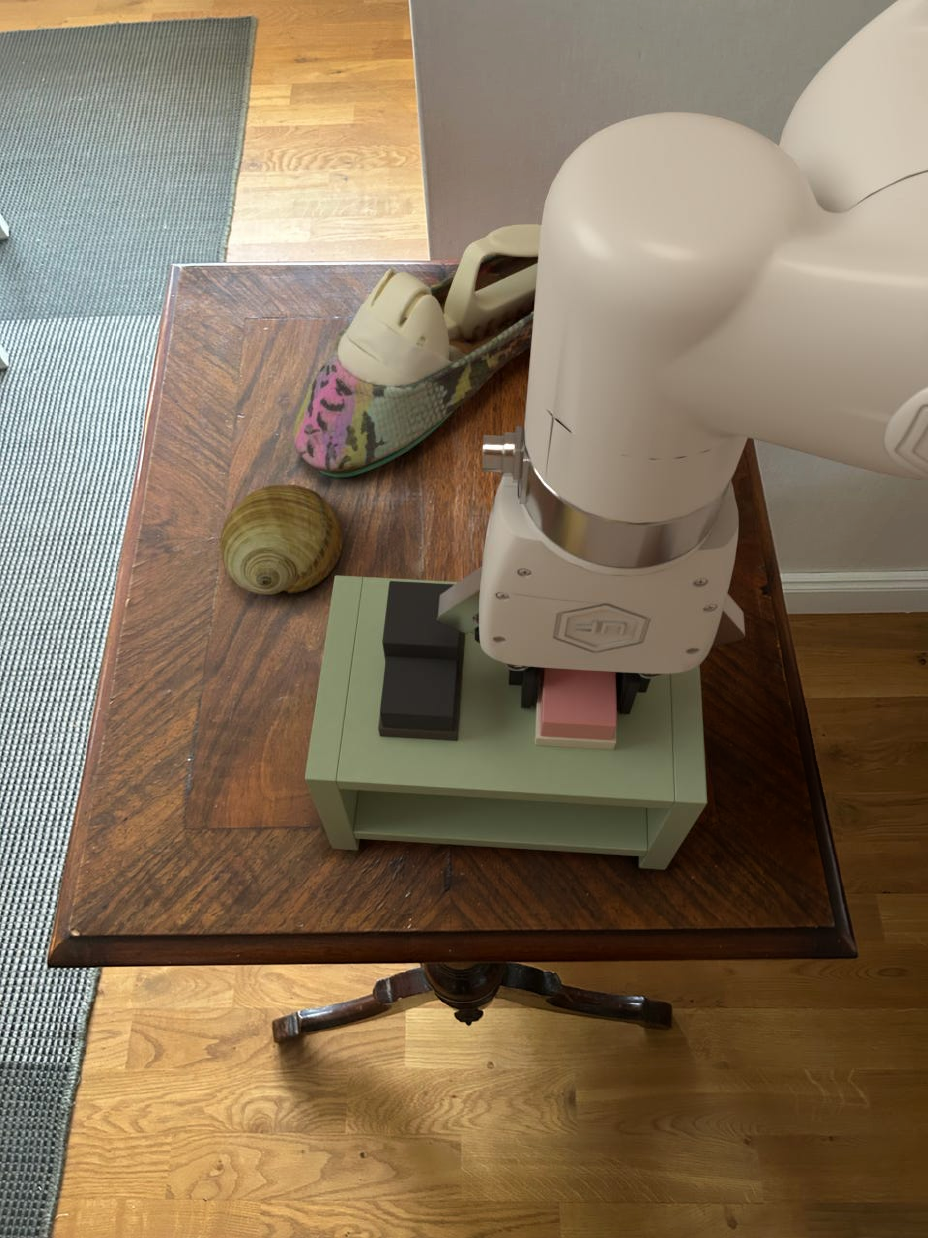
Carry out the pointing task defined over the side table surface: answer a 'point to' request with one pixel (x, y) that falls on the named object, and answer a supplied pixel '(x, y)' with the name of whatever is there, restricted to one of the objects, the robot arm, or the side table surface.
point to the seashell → (280, 540)
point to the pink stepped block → (576, 708)
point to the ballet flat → (419, 354)
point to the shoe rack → (495, 757)
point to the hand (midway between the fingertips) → (575, 683)
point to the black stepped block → (420, 665)
